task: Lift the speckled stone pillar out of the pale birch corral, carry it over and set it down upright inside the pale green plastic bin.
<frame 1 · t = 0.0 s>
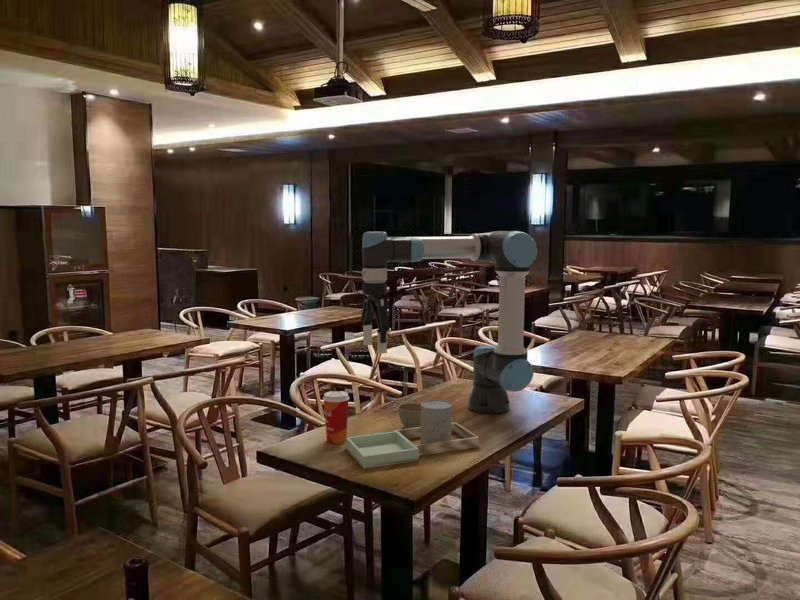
hand: (374, 349, 198), 28 cm above the table, fingers open, 13 cm apart
coffee cup: (336, 441, 196), on the table
speckled stone pillar: (435, 443, 194), resting in corral
corral: (435, 443, 194), on the table
bin b: (381, 454, 185), on the table
flower pot: (412, 428, 209), on the table
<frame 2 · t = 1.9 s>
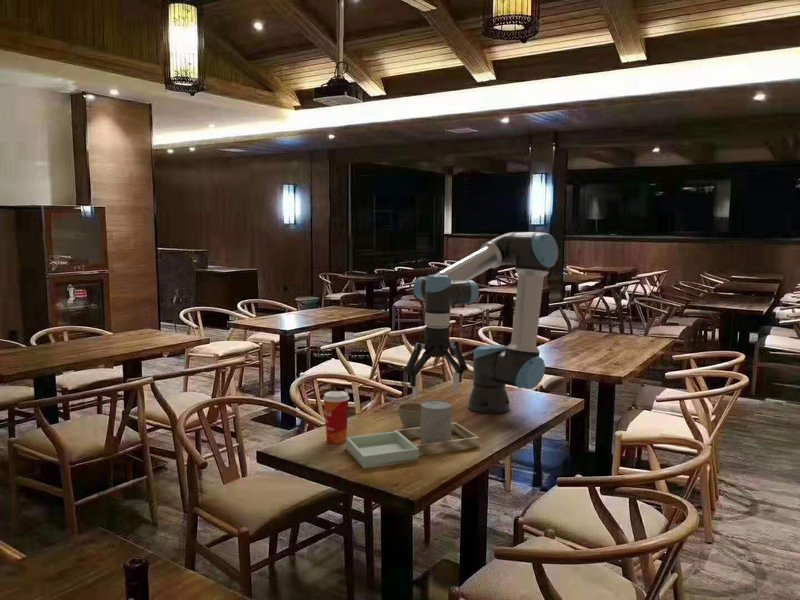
hand: (435, 395, 192), 15 cm above the table, fingers open, 13 cm apart
nothing on the table moved.
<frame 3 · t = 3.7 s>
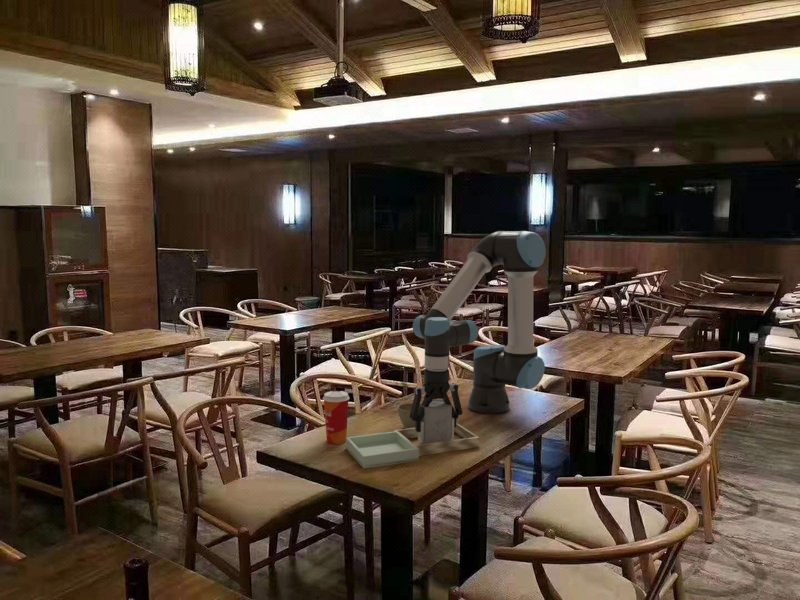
hand: (435, 439, 194), 1 cm above the table, fingers closed on speckled stone pillar, 9 cm apart
speckled stone pillar: (435, 443, 194), resting in corral, touching gripper
everything else where it was.
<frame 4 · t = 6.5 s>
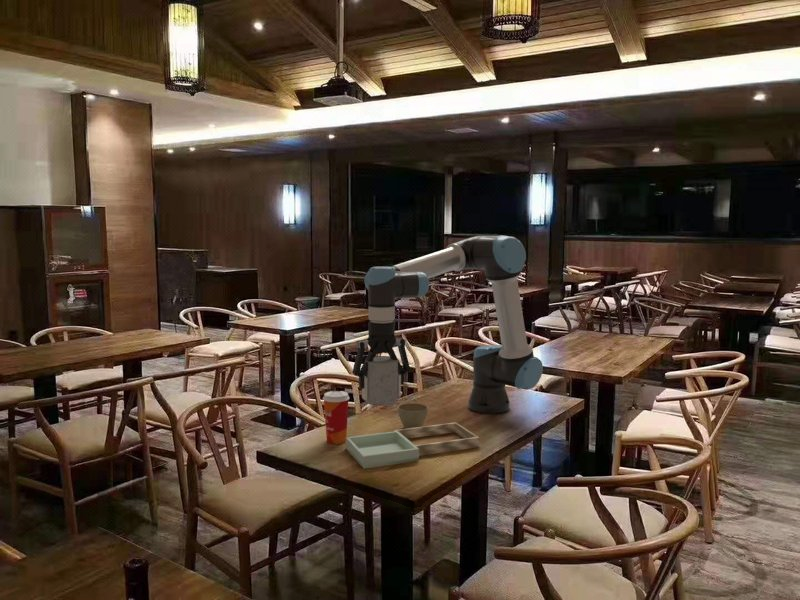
hand: (381, 397, 182), 17 cm above the table, fingers closed on speckled stone pillar, 9 cm apart
speckled stone pillar: (381, 401, 183), point 16 cm above the table, touching gripper
everything else where it was.
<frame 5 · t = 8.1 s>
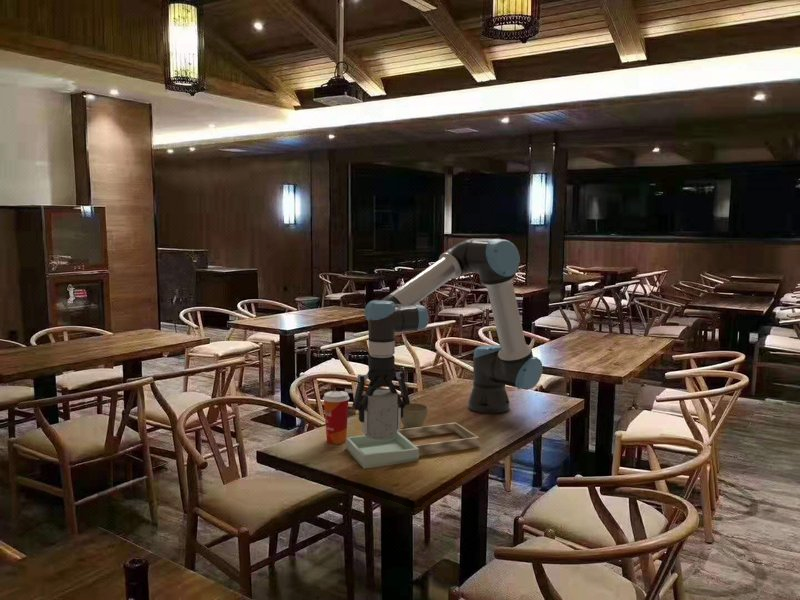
hand: (381, 430, 184), 7 cm above the table, fingers closed on speckled stone pillar, 9 cm apart
speckled stone pillar: (381, 434, 184), point 6 cm above the table, touching gripper
everything else where it was.
when the fingers open (4 cm above the table, at t = 9.3 s): speckled stone pillar drops 2 cm, resting on bin b.
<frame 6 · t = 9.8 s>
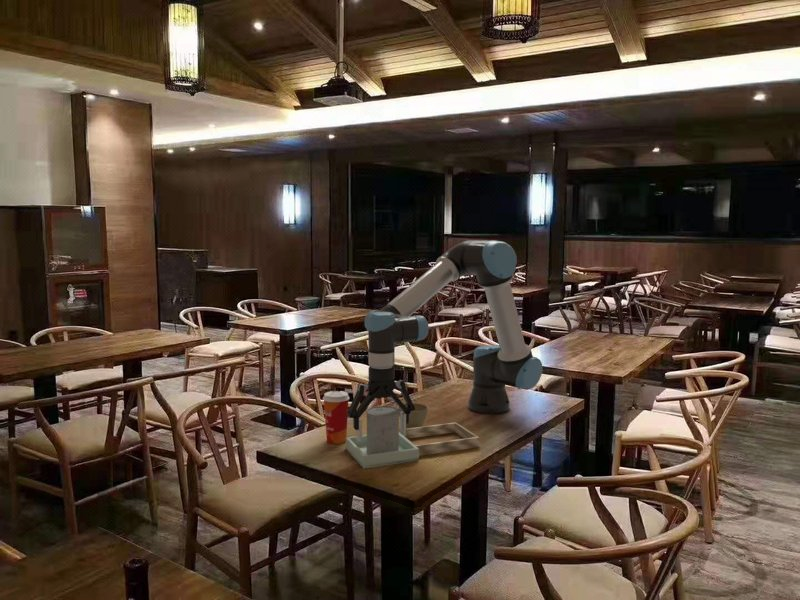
hand: (381, 437, 184), 5 cm above the table, fingers open, 13 cm apart
speckled stone pillar: (382, 452, 185), point 1 cm above the table, touching bin b
everything else where it was.
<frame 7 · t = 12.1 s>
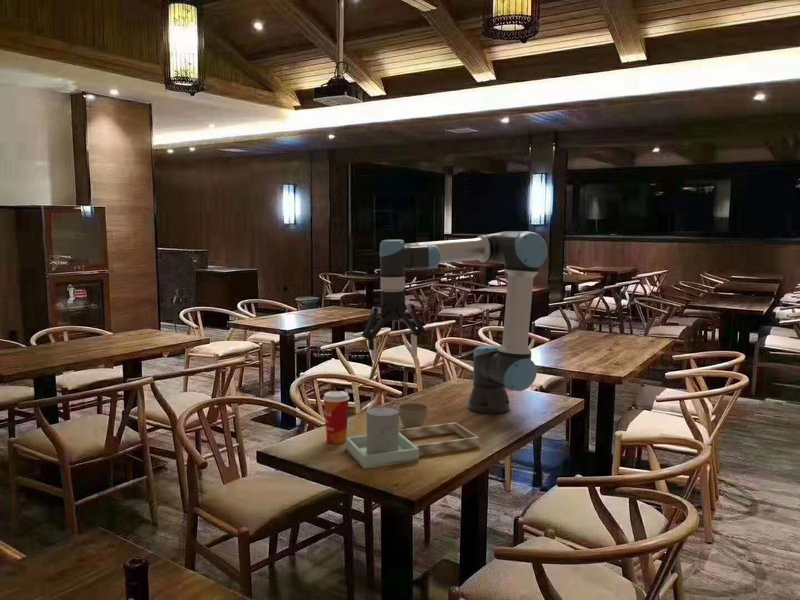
hand: (394, 357, 197), 26 cm above the table, fingers open, 13 cm apart
nothing on the table moved.
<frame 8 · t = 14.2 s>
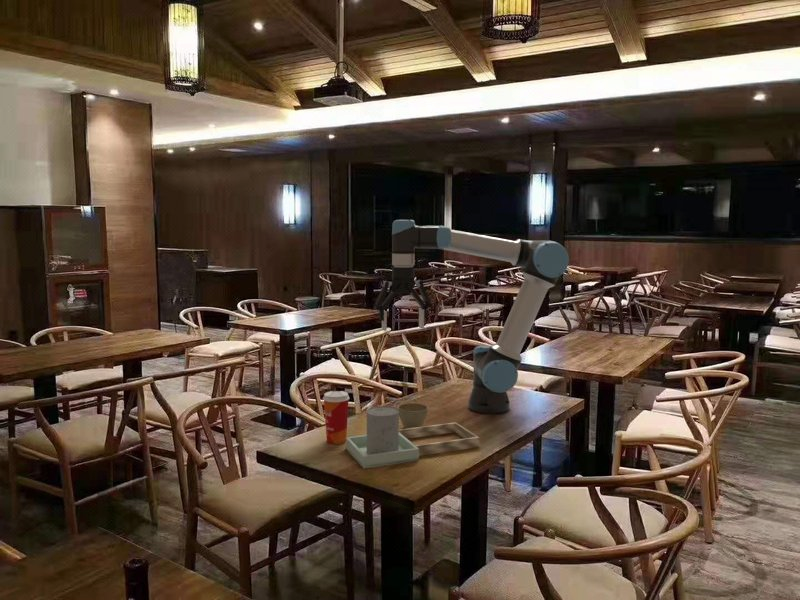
hand: (402, 329, 213), 32 cm above the table, fingers open, 13 cm apart
nothing on the table moved.
at the end: speckled stone pillar inside the target area on the bin b (0.4 cm from its centre), point 0.6 cm above the bin b's base; speckled stone pillar tilted 0°; the gripper is holding nothing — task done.
